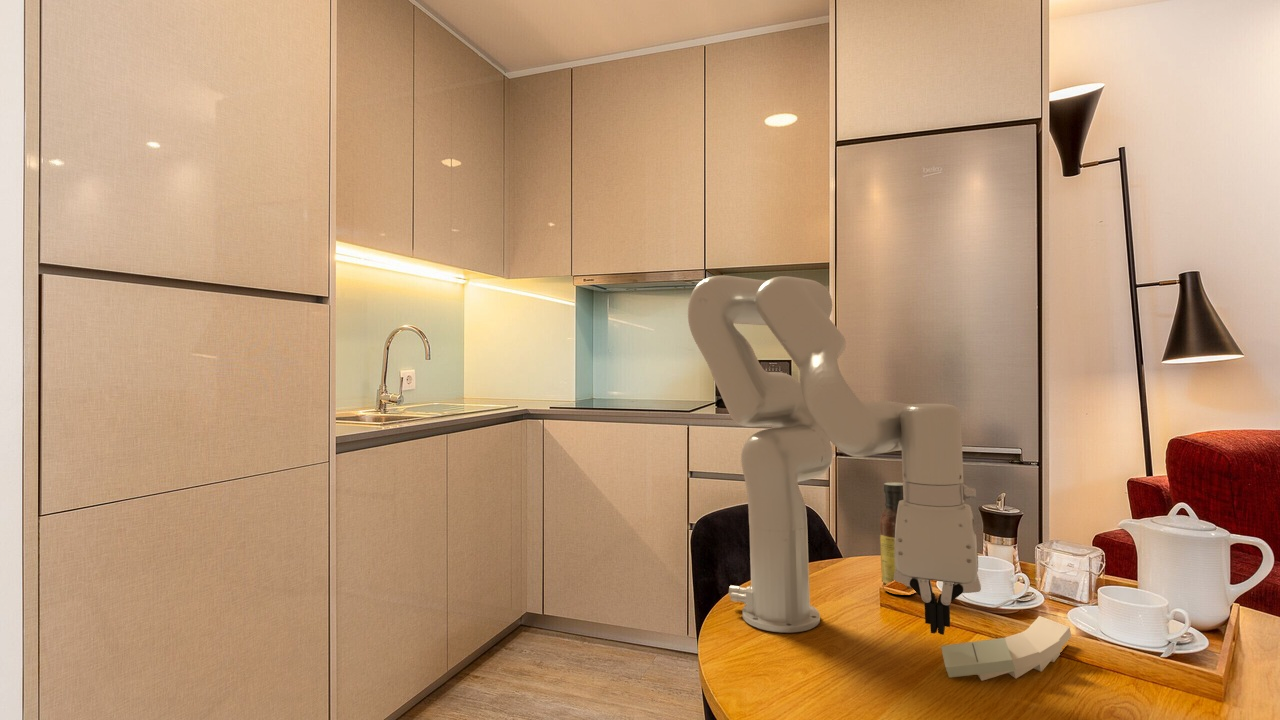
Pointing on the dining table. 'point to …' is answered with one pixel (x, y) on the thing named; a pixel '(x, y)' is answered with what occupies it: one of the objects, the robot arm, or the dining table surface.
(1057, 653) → the domino
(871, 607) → the dining table surface
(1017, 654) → the domino
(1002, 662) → the sage domino
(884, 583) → the sauce bottle
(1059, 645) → the domino
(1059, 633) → the domino
